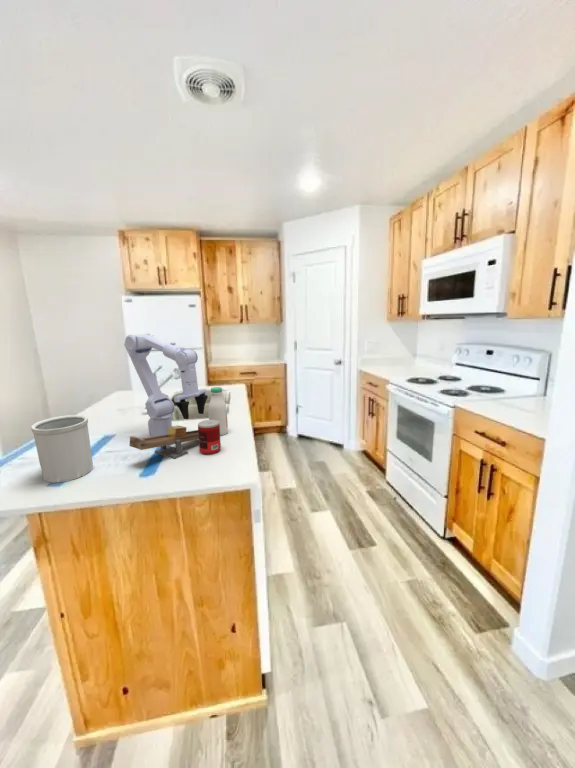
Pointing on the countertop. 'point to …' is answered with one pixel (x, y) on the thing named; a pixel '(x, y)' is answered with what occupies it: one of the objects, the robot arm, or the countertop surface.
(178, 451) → the stand
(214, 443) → the canned food
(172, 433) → the block
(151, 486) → the countertop surface
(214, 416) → the milk bottle
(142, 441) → the beam
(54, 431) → the utensil holder
